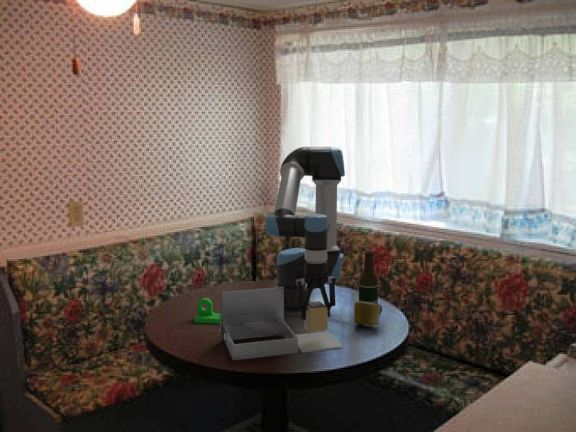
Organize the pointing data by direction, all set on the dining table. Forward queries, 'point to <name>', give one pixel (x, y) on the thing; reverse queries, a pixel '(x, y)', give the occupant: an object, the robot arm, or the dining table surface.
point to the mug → (367, 313)
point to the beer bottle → (368, 281)
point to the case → (255, 323)
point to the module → (317, 316)
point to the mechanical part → (206, 313)
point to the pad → (317, 342)
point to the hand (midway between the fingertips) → (315, 327)
